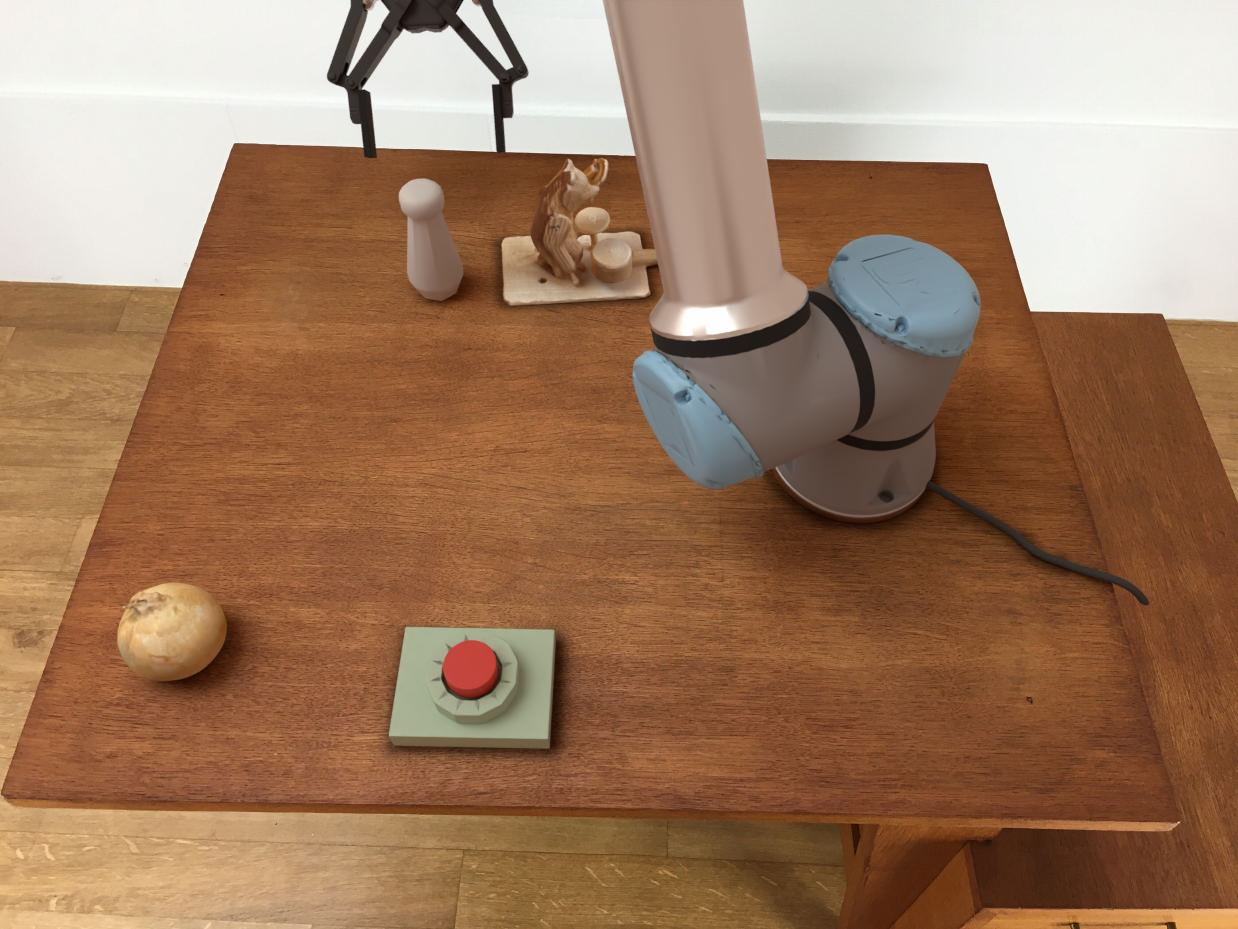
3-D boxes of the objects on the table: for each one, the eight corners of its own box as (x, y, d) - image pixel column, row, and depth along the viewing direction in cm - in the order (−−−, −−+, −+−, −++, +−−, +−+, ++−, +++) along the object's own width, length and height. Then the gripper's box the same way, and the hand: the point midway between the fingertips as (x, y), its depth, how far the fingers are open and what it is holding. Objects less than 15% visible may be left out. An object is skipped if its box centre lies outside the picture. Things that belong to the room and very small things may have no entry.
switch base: (555, 640, 79) (553, 619, 76) (549, 749, 74) (547, 730, 71) (410, 638, 79) (401, 616, 76) (393, 746, 74) (383, 727, 71)
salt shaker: (456, 310, 101) (439, 212, 90) (404, 303, 101) (380, 204, 90) (472, 272, 104) (457, 173, 93) (421, 264, 104) (400, 165, 94)
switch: (500, 649, 75) (498, 640, 73) (496, 699, 73) (493, 690, 71) (449, 648, 75) (446, 639, 73) (443, 698, 73) (439, 689, 71)
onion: (239, 597, 81) (210, 555, 75) (232, 686, 77) (202, 648, 71) (140, 610, 80) (104, 569, 75) (128, 700, 76) (88, 664, 70)
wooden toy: (501, 306, 101) (488, 202, 90) (501, 239, 107) (489, 133, 96) (709, 298, 102) (722, 194, 91) (698, 232, 108) (709, 127, 97)
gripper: (544, -65, 99) (556, 151, 105) (300, -56, 99) (325, 161, 104) (541, -87, 92) (554, 147, 97) (277, -77, 91) (306, 157, 97)
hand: (436, 155), depth 101 cm, fingers open, 13 cm apart
